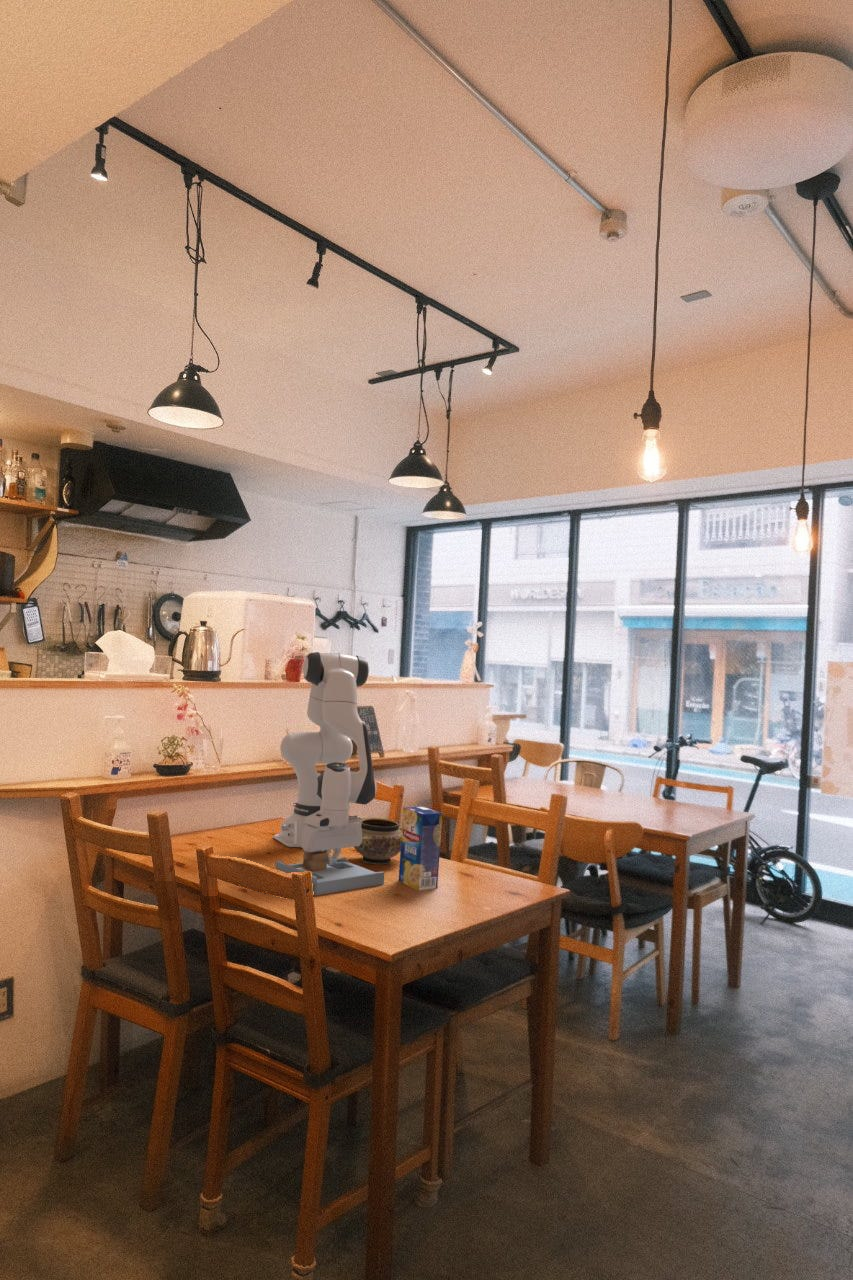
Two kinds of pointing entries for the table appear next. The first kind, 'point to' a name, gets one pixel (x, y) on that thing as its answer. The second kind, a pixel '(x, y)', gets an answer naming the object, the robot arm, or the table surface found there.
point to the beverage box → (420, 847)
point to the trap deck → (337, 876)
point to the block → (315, 860)
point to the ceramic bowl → (379, 840)
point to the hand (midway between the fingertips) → (331, 863)
